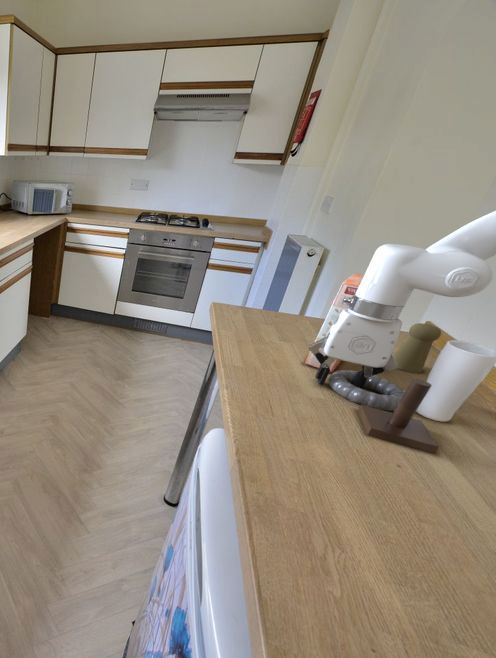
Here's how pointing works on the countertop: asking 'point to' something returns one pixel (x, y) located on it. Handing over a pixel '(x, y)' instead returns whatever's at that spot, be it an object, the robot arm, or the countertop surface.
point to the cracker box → (335, 316)
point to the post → (401, 420)
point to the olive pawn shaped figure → (416, 347)
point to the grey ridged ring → (387, 401)
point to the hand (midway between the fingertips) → (336, 385)
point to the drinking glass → (455, 378)
